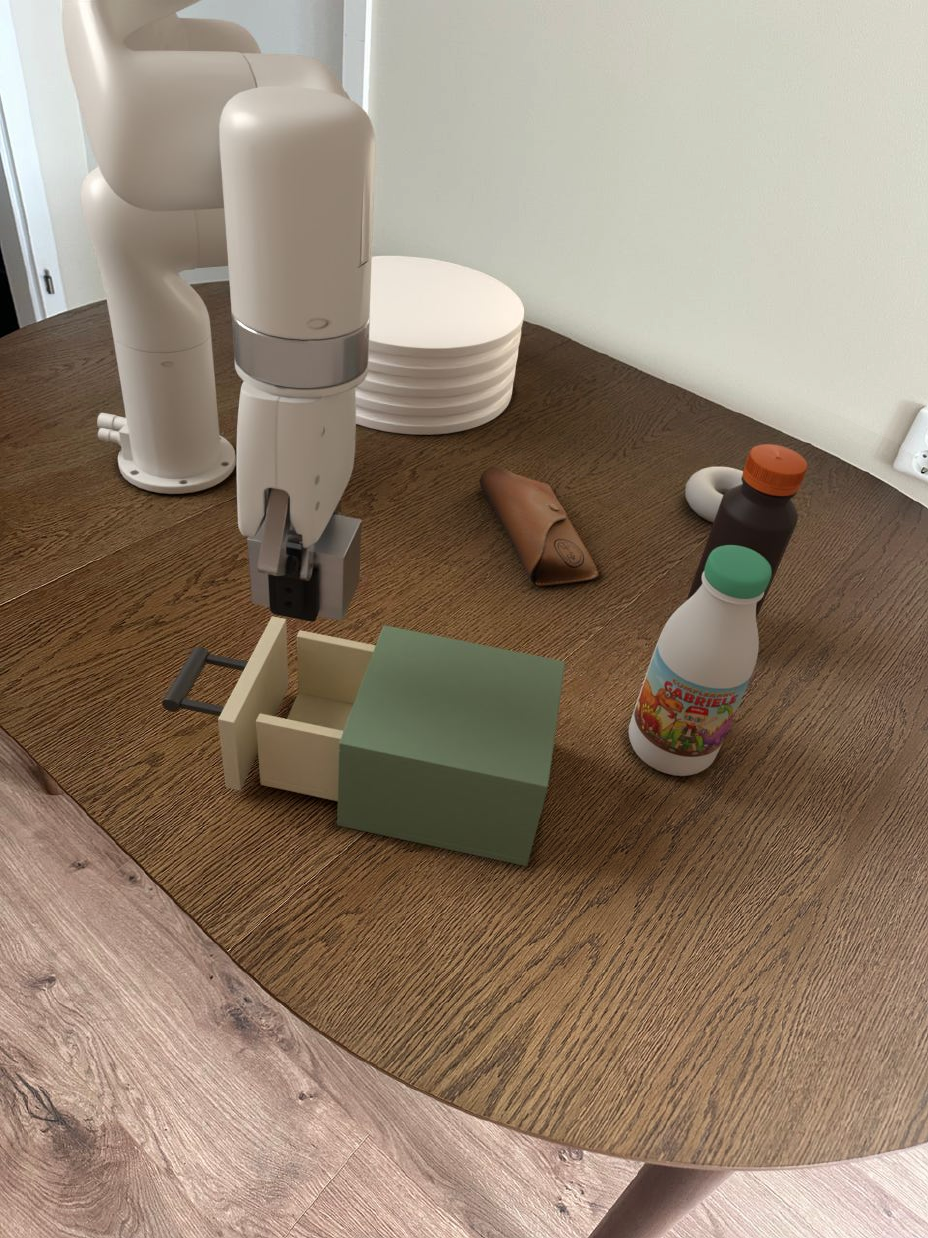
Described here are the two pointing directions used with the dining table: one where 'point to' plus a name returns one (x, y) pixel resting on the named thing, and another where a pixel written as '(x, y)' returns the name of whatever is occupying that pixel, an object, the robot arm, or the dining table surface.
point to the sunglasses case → (538, 529)
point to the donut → (710, 489)
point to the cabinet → (450, 745)
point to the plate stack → (437, 347)
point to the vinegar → (758, 509)
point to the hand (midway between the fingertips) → (306, 589)
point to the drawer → (247, 723)
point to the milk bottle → (701, 666)
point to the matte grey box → (320, 566)
